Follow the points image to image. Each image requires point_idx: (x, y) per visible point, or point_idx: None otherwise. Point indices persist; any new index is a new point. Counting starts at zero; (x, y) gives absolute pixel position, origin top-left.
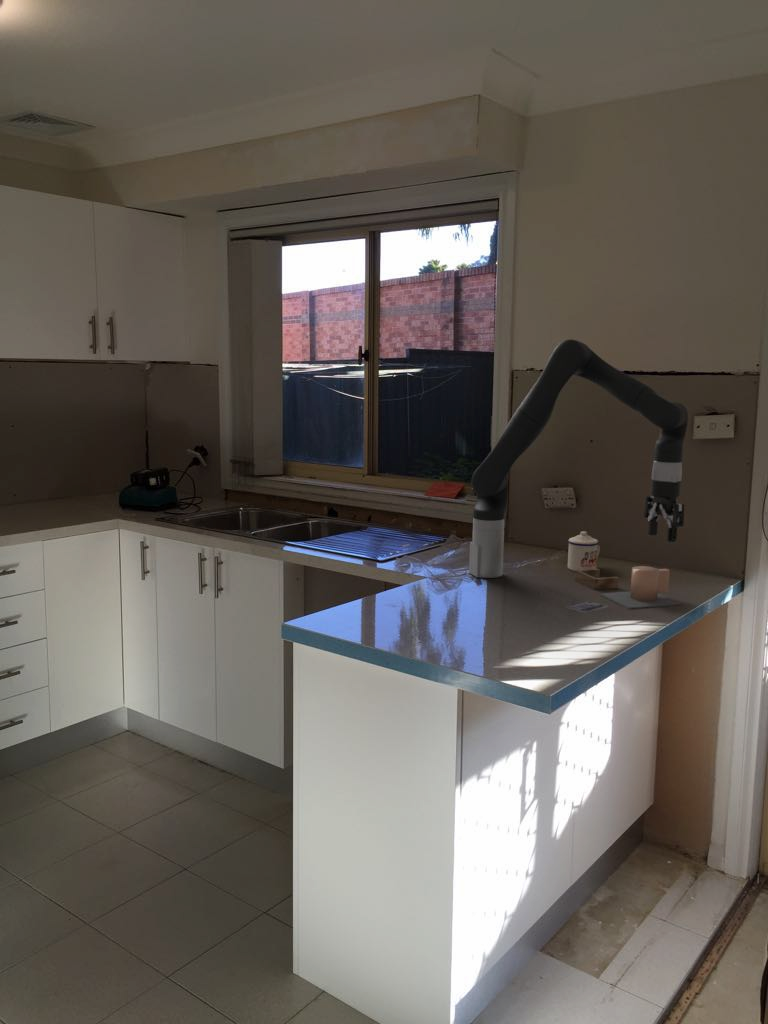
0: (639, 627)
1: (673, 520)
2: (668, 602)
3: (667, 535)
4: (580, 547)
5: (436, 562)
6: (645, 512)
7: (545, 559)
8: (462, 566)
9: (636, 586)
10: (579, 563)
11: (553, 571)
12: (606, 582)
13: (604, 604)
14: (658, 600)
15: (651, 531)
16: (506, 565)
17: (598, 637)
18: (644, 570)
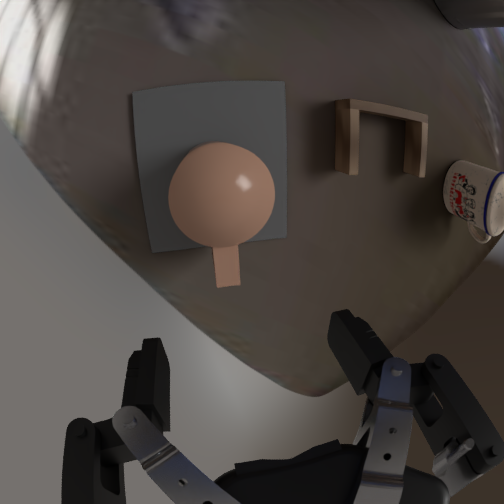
0: (15, 79)
1: (87, 457)
2: (162, 224)
3: (157, 360)
4: (488, 181)
5: None
6: (449, 377)
7: (497, 164)
8: None
9: (199, 146)
10: (461, 171)
11: (459, 121)
12: (344, 135)
13: (192, 49)
14: None
15: (341, 329)
16: (487, 78)
17: (6, 3)
18: (203, 183)
